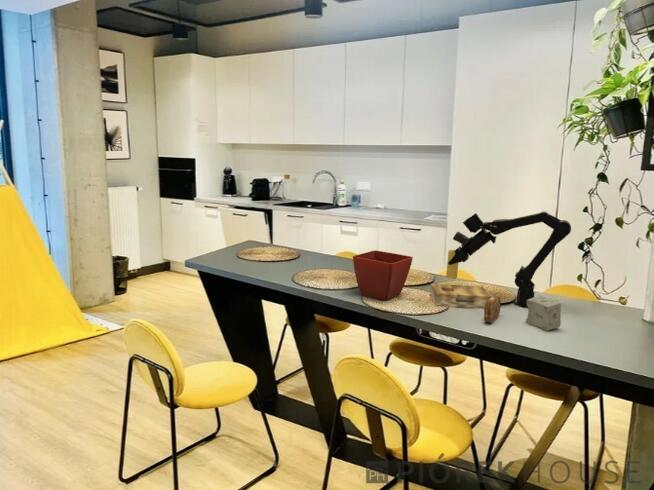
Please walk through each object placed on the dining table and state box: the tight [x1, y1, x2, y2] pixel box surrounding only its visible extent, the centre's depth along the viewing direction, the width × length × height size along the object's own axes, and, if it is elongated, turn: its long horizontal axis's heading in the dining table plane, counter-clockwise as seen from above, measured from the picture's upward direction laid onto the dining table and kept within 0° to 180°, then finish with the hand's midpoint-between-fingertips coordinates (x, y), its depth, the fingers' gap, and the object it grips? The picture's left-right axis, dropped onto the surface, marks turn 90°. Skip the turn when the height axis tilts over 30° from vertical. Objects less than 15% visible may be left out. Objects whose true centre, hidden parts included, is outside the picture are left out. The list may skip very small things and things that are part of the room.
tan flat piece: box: [429, 283, 493, 309], centre depth 216 cm, size 22×16×5 cm
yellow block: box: [445, 249, 459, 280], centre depth 227 cm, size 4×4×12 cm
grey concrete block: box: [525, 295, 562, 332], centre depth 191 cm, size 10×8×10 cm
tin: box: [483, 295, 502, 324], centre depth 196 cm, size 15×3×8 cm, turn 148°
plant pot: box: [352, 250, 413, 301], centre depth 220 cm, size 19×19×17 cm
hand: (449, 263), depth 227 cm, fingers closed on yellow block, 4 cm apart
